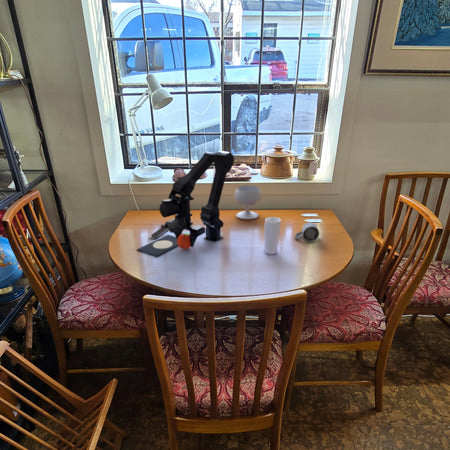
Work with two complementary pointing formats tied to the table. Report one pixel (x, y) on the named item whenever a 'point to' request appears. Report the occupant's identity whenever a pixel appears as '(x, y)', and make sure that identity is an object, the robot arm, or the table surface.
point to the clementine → (184, 241)
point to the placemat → (160, 246)
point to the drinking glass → (272, 234)
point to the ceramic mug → (308, 232)
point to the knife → (159, 231)
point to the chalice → (247, 200)
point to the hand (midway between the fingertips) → (185, 245)
